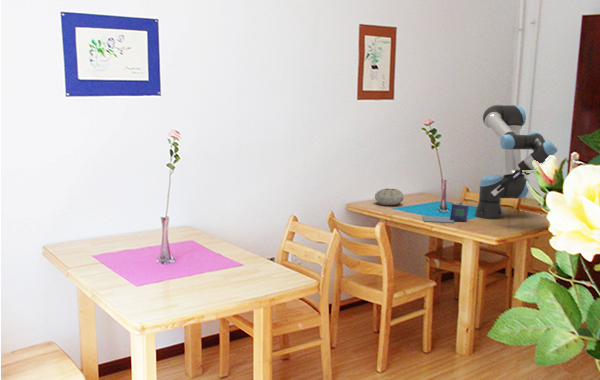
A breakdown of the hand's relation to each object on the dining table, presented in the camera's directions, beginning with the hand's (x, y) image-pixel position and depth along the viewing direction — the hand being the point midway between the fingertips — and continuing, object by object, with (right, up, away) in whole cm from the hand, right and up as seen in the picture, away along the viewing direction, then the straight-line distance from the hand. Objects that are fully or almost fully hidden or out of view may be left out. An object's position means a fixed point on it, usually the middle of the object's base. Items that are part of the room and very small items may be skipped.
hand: (492, 194), depth 309 cm
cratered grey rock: (-47, -7, +54) cm, 72 cm away
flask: (-16, -15, +10) cm, 24 cm away
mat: (-26, -14, +12) cm, 32 cm away
